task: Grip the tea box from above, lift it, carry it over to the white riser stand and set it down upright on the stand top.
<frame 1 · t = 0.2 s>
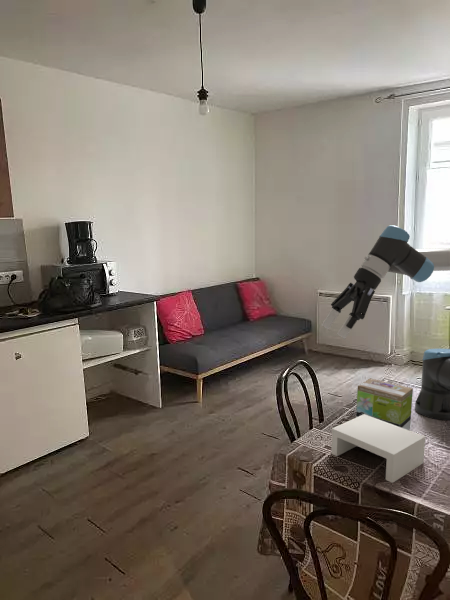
hand: (332, 332, 137), 35 cm above the table, tool tilted 35°, fingers open, 13 cm apart
white riser stand: (376, 458, 131), on the table
tea box: (382, 428, 150), on the table
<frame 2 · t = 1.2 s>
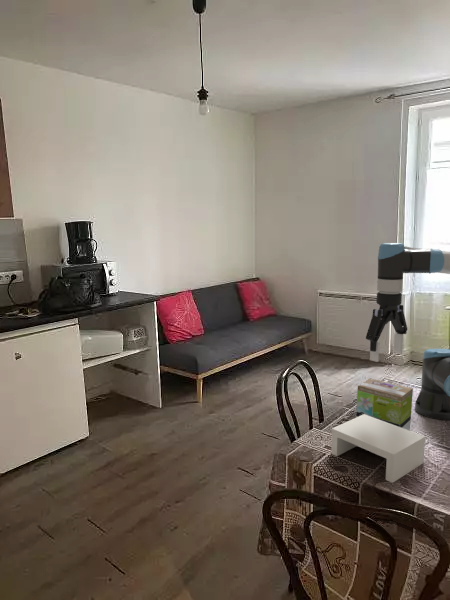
hand: (386, 356, 146), 25 cm above the table, tool pointing down, fingers open, 13 cm apart
nothing on the table moved.
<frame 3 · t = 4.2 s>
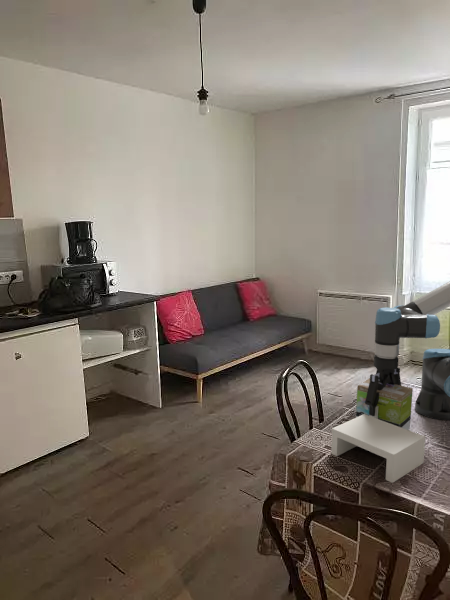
hand: (382, 419, 150), 3 cm above the table, tool pointing down, fingers closed on tea box, 11 cm apart
tea box: (382, 428, 150), on the table, touching gripper
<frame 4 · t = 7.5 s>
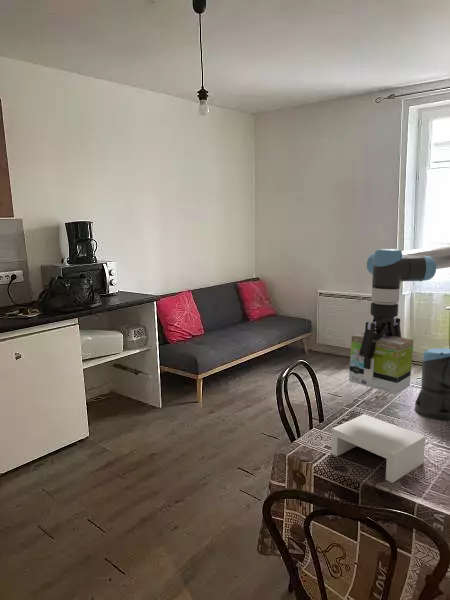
hand: (379, 375, 134), 23 cm above the table, tool pointing down, fingers closed on tea box, 11 cm apart
tea box: (378, 385, 135), point 20 cm above the table, touching gripper
when the fingers open (12 cm above the table, at t = 10.8 s): tea box drops 1 cm, resting on white riser stand.
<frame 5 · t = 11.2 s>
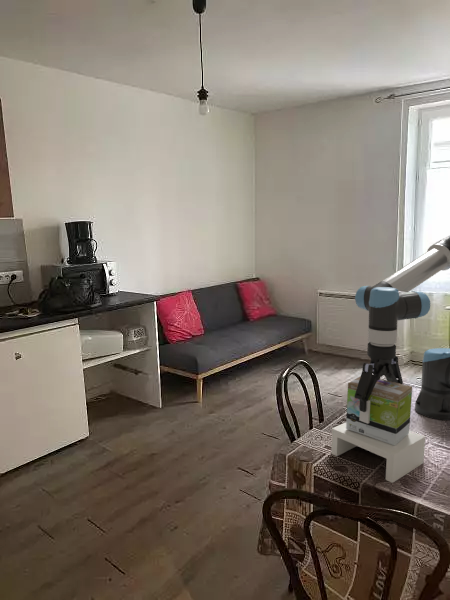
hand: (378, 415, 129), 13 cm above the table, tool pointing down, fingers open, 13 cm apart
tea box: (377, 433, 130), point 8 cm above the table, touching white riser stand
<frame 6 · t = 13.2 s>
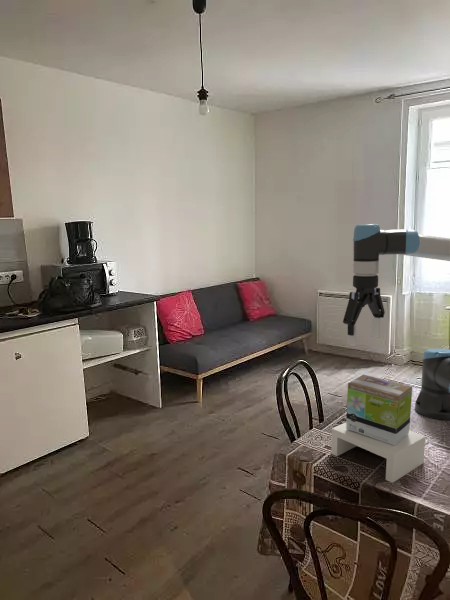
hand: (364, 341, 143), 31 cm above the table, tool pointing down, fingers open, 13 cm apart
nothing on the table moved.
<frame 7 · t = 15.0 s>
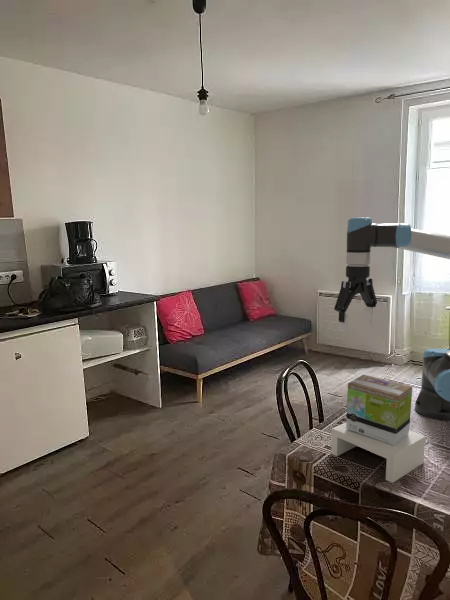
hand: (355, 328, 151), 33 cm above the table, tool pointing down, fingers open, 13 cm apart
nothing on the table moved.
at the end: tea box inside the target area on the white riser stand (0.2 cm from its centre), point 7.8 cm above the white riser stand's base; tea box tilted 0°; the gripper is holding nothing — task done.
